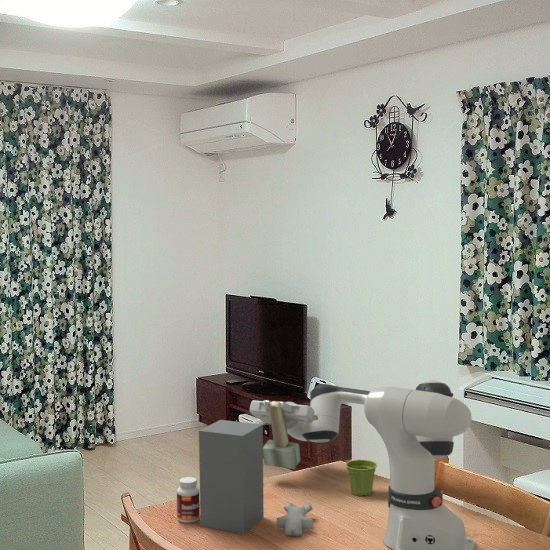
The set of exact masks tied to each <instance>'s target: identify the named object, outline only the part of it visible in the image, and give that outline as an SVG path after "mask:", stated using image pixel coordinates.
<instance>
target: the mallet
mask: <svg viewBox="0 0 550 550" xmlns="http://www.w3.org/2000/svg"><path fill="white" fill-rule="evenodd" d="M271 402H272V403H271V404H270V405H269V410H270V417H271V424H272V426H271V431H272V436H273V437H272V438H273V439H268V440H267V441H266V443H265V444H263V464H264V466H270V467H278V468H282V469H283V468H284V469H293V470H296V468H297V466H298V465H299V464H300V462H301V453H300V445H299V443H298V442H292V441H291V442H290V441H289V434H288V433H287V425H286V418H285V416H284V415H283V412H285V410H284V409H280V408H279V407H278V405H279V402H280V401H276V400H273V401H271Z"/></svg>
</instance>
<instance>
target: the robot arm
mask: <svg viewBox="0 0 550 550" xmlns="http://www.w3.org/2000/svg"><path fill="white" fill-rule="evenodd" d="M309 393H310V394H309V396H310V397H309V399H310V400H309V401H310V402H309V403H310V405H306V404H305V405H304V404H297V403H295V402H293V401H278V402H279V405H278V407H279V408H280V409H284V410H285V412H283V415H284V416H285V418H286V425H287V433H288V436H290V437H292V438H294V439H296V440H297V441H302V442H309V443H312V444H316V445H319V444H320V445H323V444H324V445H325V444H328V443H331V442H332V441H334V440H335V439H336V438H337V437H338V436H339V432H340V417H341V415H340V414H341V406H342V404H343V403H351V404H357V405H364V406H363V410H364V411H363V412H364V415H365V418H366V420H367V422H368V423H369V424H370V425H371V426H372V427H373V428H374V429H375V430H376V432H377V433H378V435H379V436H380V437H381V440H382V442H383V444H384V445H385V448H386V452H387V454H388V461H389V463H388V464H389V485H388V490H387V505H388V506H387V507H388V517H387V524H386V529H385V533H384V536H383V542H384V545H386V546H387V547H389V548H390V549H392V550H475V549H476V543H475V540H474V539H473V538H472V537H471V536H470V535H469V536H468V535H466V528H465V524H464V522H463V520H462V518H460V517H459V516H458V515H457V514H456V513H454V511H452V510H451V509H450V508H448V507H447V506H446V505H445V504H444V503H443V500H444V499H443V496H444V490H443V489H441V491H440V490H438V488H436V487H435V486H436V485H435V480H436V479H435V475H436V474H435V470H436V469H435V467H436V463H435V460H439V459H444V458H445V457H446V458H447V457H449V456H450V455H451V454H452V453H453V450H454V444H455V442H454V437H457V436H460V435H462V434H463V433H465V432H466V431H467V430H468V429H469V428H470V427H471V425H472V424H471V423H472V419H473V418H472V417H473V416H472V413H471V410H470V408H469V407H468V405H466V404H465V403H464V402H463V401H462V400H460V399H458V398H455V397H453V396H454V393H452V391H451V388H450V386H448V384H447V383H444V382H441V381H438V380H427V381H424V382H422V383H420V384H418V385H417V386H416V387H415V389H411V388H403V387H395V386H385V387H384V386H383V387H375V388H373V389H372V390H371V391H370V390H365V389H359V388H358V389H357V388H350V387H343V386H342V387H341V386H338V385H332V384H329V383H319V384H317V385H316V386H314V387H313V389H311V391H310V392H309ZM271 403H272V401H271V400H269V399H267V400H265V399H264V400H263V401H262V400H252V401H251V403H250V406H249V412H250V414H252V416H254V417H255V418H257V420H258V419H259V420H261V424H262V425H267V426H270V427H272V424H271V417H270V410H269V405H270V404H271Z"/></svg>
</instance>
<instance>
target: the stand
mask: <svg viewBox="0 0 550 550" xmlns="http://www.w3.org/2000/svg"><path fill="white" fill-rule="evenodd" d="M263 425H264V424H263V423H261V424H260V423H250V422H245V421H243V422H242V421H235V420H234V421H233V420H225V419H219V420H217V421H216V422H213V423H211V424H209V425H208V426H206V427H202V428H201V429H200V430H198V448H199V449H198V453H199V460H198V461H199V462H198V463H199V504H200V517H199V519H200V520H199V521H200V522H199V523H200V527H204V528H209V529H216V530H221V531H227V532H231V533H237V534H243V535H245V534H246V533H247V532H248V531H249V530H250V529H252V528H253V527H254V526H255V525H257V524H258V523H259V522H260V521H261V520H262V519H264V518H265V516H264V515H265V514H264V513H265V512H264V510H265V509H264V456H263V447H264V440H263V439H264V437H263V436H264V435H263V434H264V431H263V430H264V429H263V428H264V427H263Z"/></svg>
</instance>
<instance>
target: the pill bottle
mask: <svg viewBox="0 0 550 550" xmlns="http://www.w3.org/2000/svg"><path fill="white" fill-rule="evenodd" d="M197 480H198V479H197V478H196V477H192V476H186V477H182V478H180V479H179V487H178V488H177V490H176V519H177V521H179V522H181V523H184V524H190V523H194V522H197V521H198V520H199V519H200V487H198V485H197V484H198V483H197V482H198V481H197Z"/></svg>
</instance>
